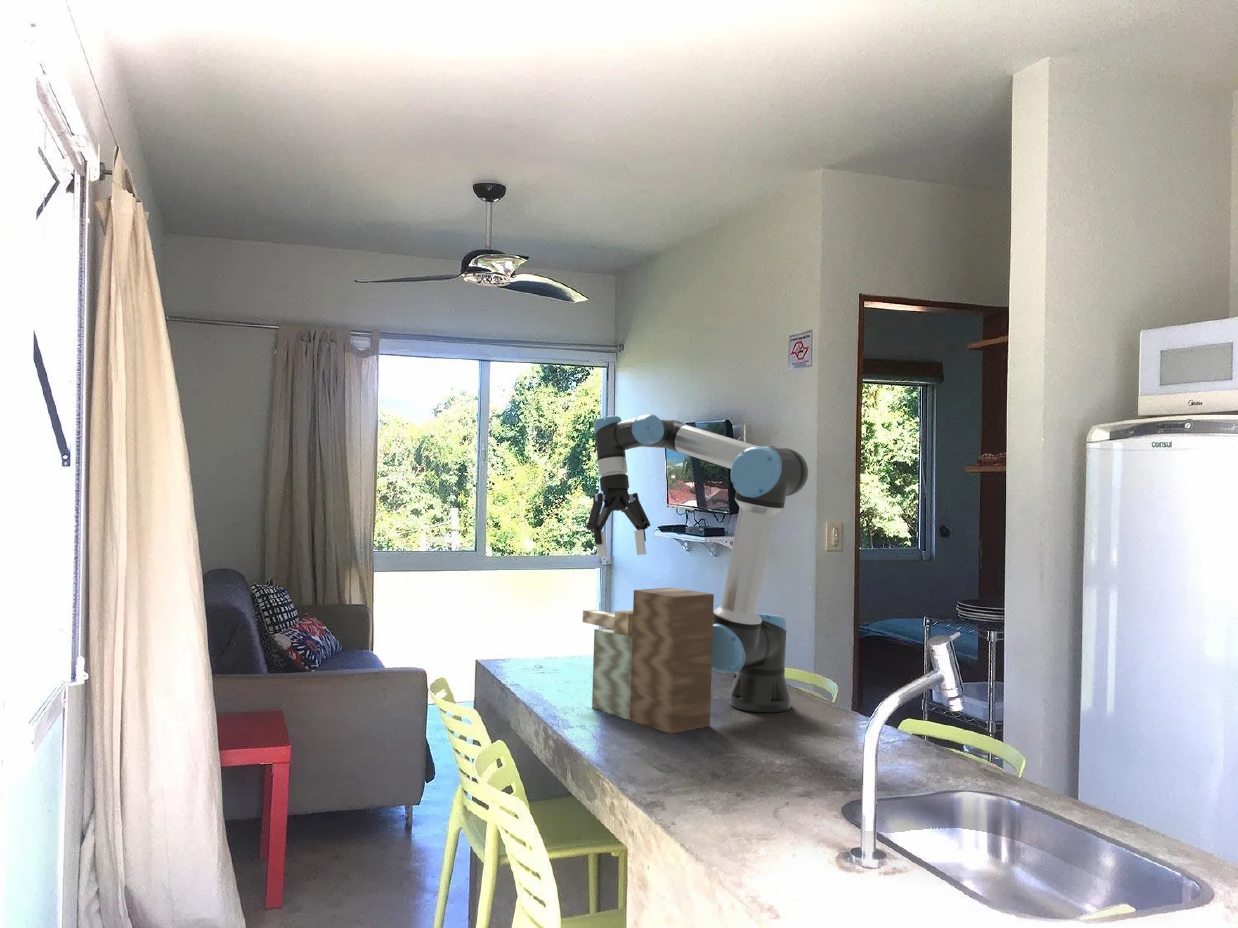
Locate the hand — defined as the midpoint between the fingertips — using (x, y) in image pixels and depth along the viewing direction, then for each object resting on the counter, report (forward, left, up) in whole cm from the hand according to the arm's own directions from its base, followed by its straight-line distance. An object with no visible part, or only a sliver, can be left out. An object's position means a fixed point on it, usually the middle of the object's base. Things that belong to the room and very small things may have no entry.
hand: (622, 556), depth 260 cm
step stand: (-15, +22, -35) cm, 44 cm away
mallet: (-3, +15, -16) cm, 22 cm away
